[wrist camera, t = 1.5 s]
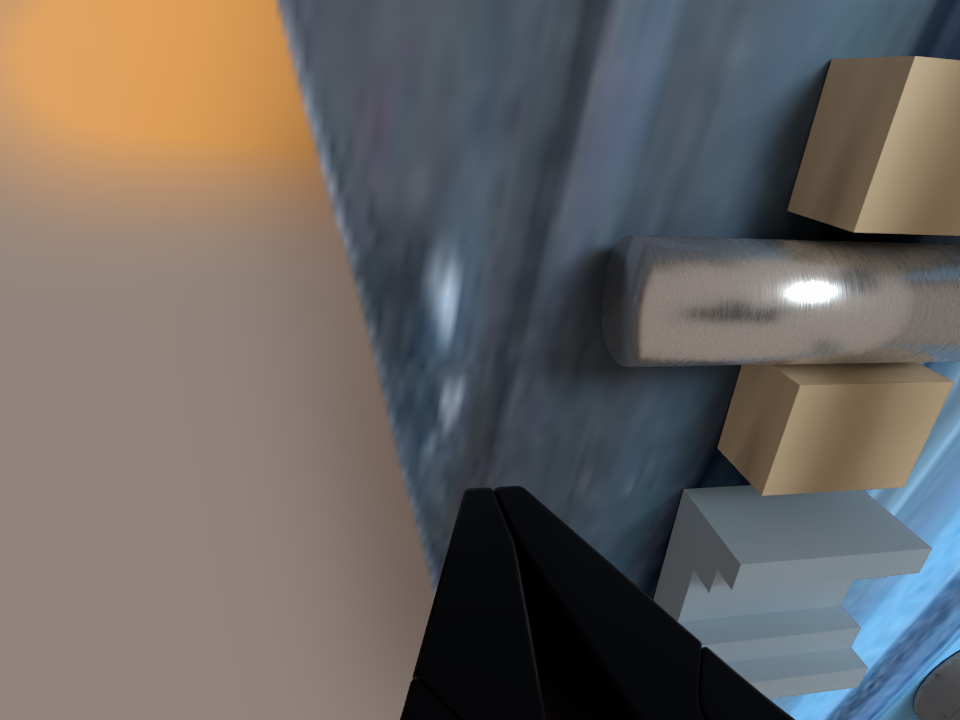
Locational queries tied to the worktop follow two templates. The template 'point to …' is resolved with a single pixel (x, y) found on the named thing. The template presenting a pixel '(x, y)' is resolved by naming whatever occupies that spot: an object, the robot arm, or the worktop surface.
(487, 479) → the worktop surface
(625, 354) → the light grey bar
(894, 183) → the beam
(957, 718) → the thermos bottle
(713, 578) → the v block
